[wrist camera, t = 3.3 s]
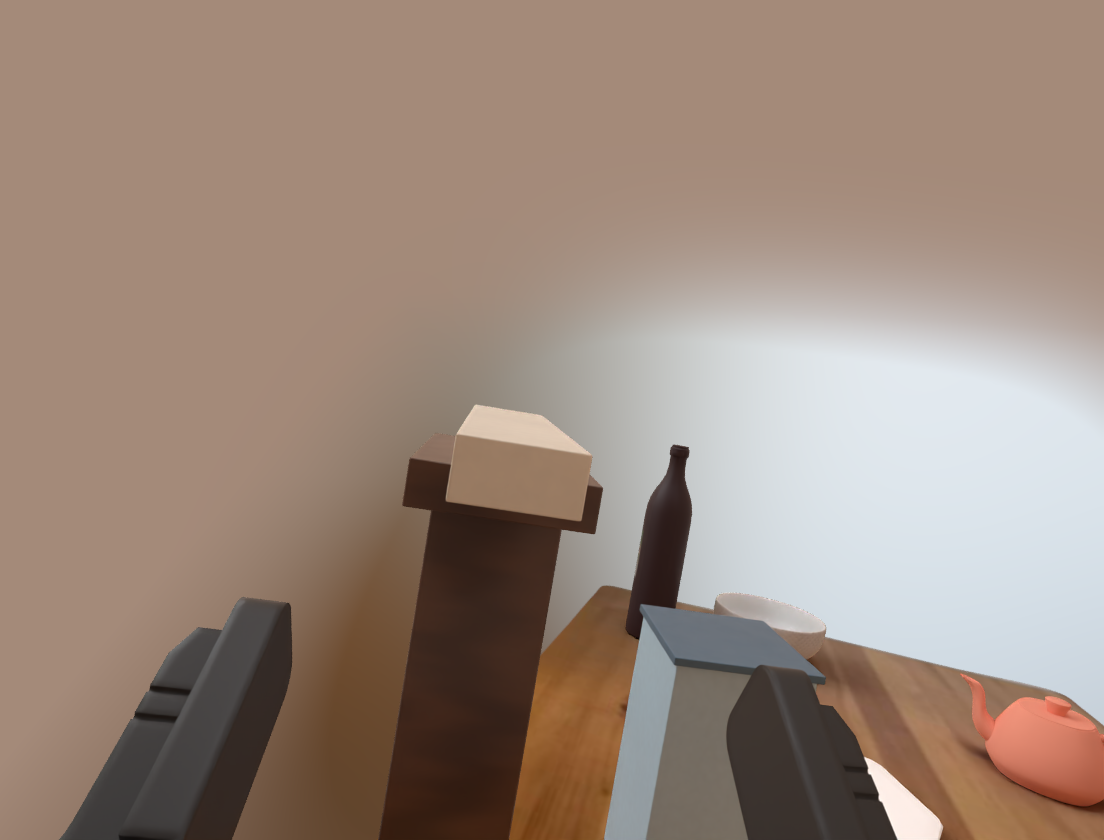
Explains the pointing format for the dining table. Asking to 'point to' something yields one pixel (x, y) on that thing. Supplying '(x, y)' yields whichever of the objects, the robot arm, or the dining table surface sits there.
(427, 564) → the stand
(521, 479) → the slat
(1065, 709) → the teapot
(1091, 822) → the dining table surface
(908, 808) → the plate
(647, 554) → the wine bottle
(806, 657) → the cereal bowl
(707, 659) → the container
